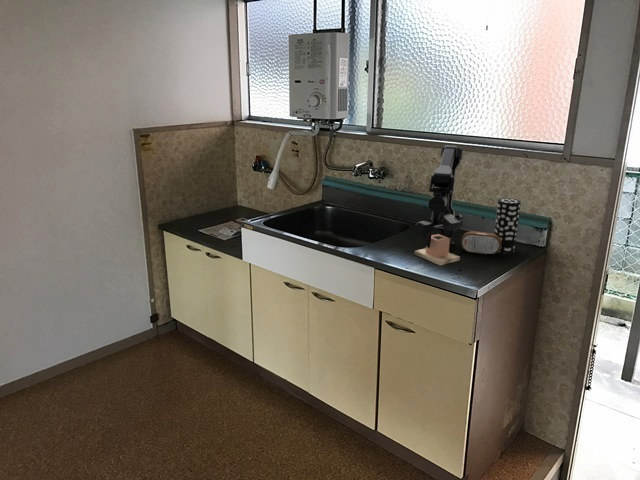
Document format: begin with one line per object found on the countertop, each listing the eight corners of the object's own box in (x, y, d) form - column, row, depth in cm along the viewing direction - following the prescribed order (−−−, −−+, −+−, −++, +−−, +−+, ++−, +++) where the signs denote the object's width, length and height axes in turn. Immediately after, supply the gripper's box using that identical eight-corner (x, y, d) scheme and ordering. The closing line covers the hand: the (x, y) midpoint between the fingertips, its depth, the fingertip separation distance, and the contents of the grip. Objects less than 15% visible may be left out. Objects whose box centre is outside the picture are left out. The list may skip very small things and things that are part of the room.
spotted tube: (508, 254, 201) (515, 204, 195) (488, 249, 207) (494, 200, 200) (518, 249, 207) (524, 200, 201) (498, 245, 212) (503, 197, 206)
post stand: (433, 249, 207) (435, 229, 204) (459, 260, 196) (461, 238, 193) (414, 254, 202) (415, 233, 199) (439, 265, 191) (441, 243, 188)
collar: (437, 250, 202) (438, 234, 200) (448, 254, 197) (449, 238, 195) (425, 252, 199) (426, 236, 197) (436, 257, 194) (437, 240, 192)
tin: (500, 254, 202) (502, 233, 200) (499, 256, 200) (502, 235, 197) (460, 249, 207) (462, 229, 205) (459, 252, 205) (461, 231, 202)
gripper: (436, 214, 181) (433, 256, 186) (475, 207, 190) (471, 247, 195) (415, 207, 190) (413, 247, 195) (452, 200, 199) (449, 239, 204)
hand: (437, 245), depth 197 cm, fingers open, 9 cm apart
